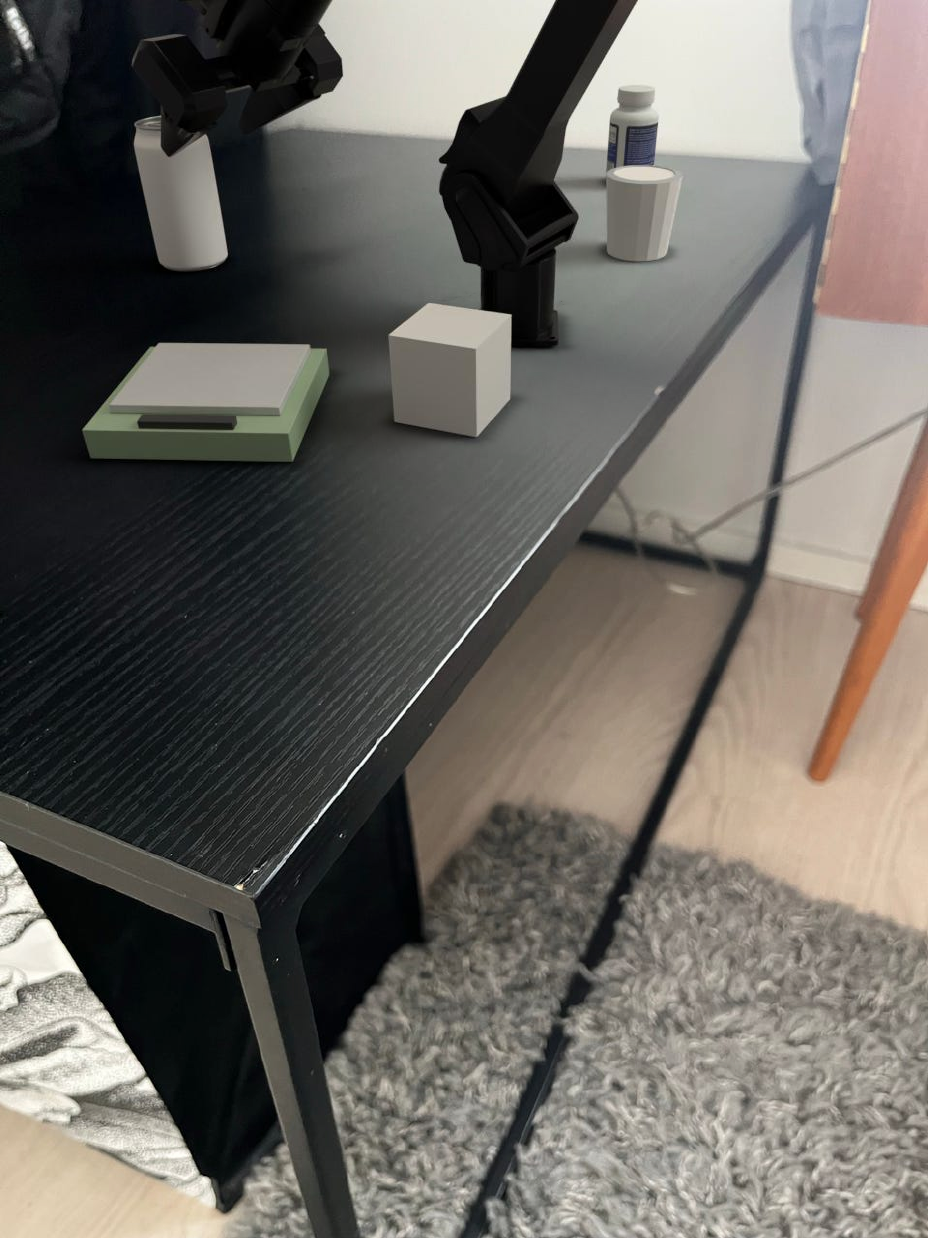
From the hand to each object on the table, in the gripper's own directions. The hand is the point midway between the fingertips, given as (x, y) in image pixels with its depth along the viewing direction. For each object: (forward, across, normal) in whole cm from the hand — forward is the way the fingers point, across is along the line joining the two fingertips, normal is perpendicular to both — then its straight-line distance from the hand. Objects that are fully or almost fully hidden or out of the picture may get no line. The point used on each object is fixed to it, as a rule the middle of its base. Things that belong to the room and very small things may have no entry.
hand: (205, 140), depth 81 cm
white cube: (-16, +14, +32) cm, 38 cm away
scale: (-7, +23, +22) cm, 32 cm away
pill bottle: (-7, -45, +22) cm, 51 cm away
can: (+11, 0, +5) cm, 12 cm away
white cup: (-14, -23, +30) cm, 40 cm away
